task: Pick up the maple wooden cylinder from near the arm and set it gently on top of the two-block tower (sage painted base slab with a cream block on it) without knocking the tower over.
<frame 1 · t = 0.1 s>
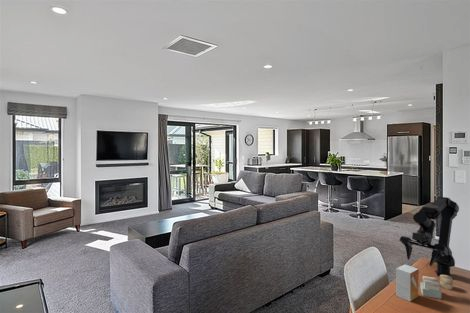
hand: (419, 262, 128), 15 cm above the table, tool tilted 30°, fingers open, 9 cm apart
maple cylinder: (446, 287, 133), on the table
cream top block: (430, 286, 128), point 3 cm above the table
sage base block: (430, 294, 128), on the table
small box: (407, 296, 126), on the table
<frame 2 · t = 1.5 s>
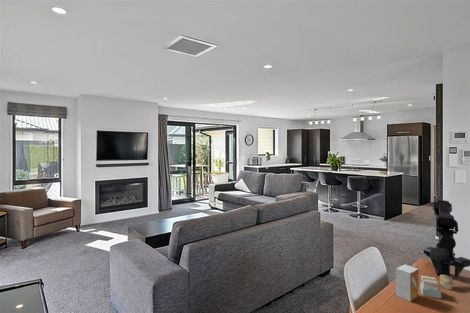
hand: (445, 273, 133), 7 cm above the table, tool pointing down, fingers open, 9 cm apart
cream top block: (429, 286, 128), point 3 cm above the table, touching sage base block
sage base block: (430, 294, 128), on the table, touching cream top block
everything else where it was.
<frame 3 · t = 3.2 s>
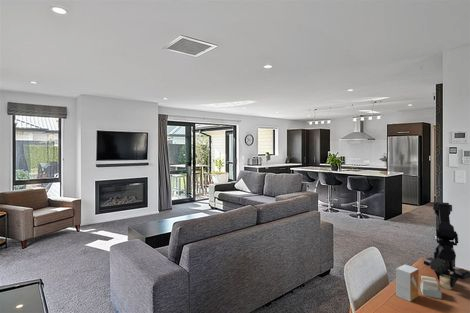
hand: (446, 284, 133), 1 cm above the table, tool pointing down, fingers closed on maple cylinder, 5 cm apart
maple cylinder: (446, 287, 133), on the table, touching gripper
everything else where it was.
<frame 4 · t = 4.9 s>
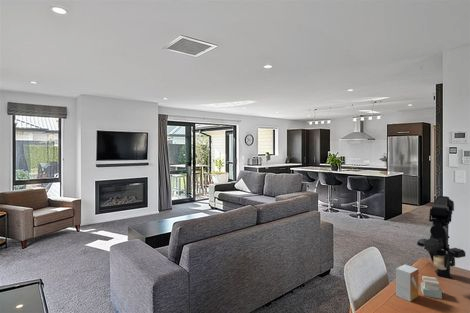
hand: (439, 265, 130), 12 cm above the table, tool pointing down, fingers closed on maple cylinder, 5 cm apart
maple cylinder: (439, 267, 130), point 11 cm above the table, touching gripper
everything else where it was.
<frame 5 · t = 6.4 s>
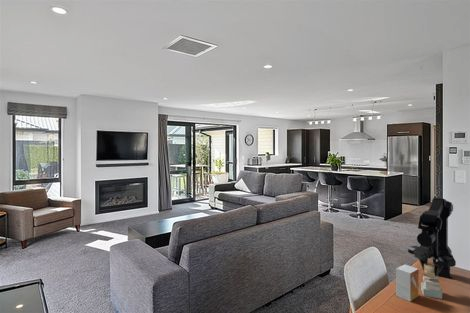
hand: (430, 273, 128), 9 cm above the table, tool pointing down, fingers closed on maple cylinder, 5 cm apart
maple cylinder: (430, 275, 128), point 8 cm above the table, touching gripper
cream top block: (431, 286, 128), point 3 cm above the table
sage base block: (431, 294, 128), on the table
everything else where it was.
when the fingers open (9 cm above the table, at t = 6.5 s): maple cylinder drops 2 cm, resting on cream top block.
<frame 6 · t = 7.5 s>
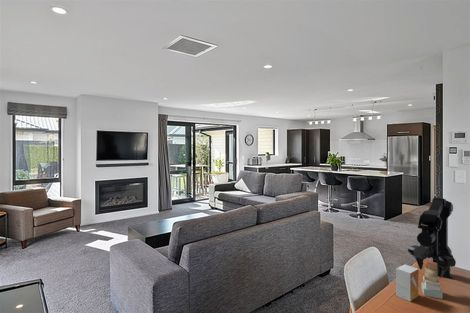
hand: (430, 273, 128), 10 cm above the table, tool pointing down, fingers open, 9 cm apart
maple cylinder: (431, 279, 128), point 7 cm above the table, touching cream top block
cream top block: (431, 286, 128), point 3 cm above the table, touching maple cylinder, sage base block
sage base block: (431, 294, 128), on the table, touching cream top block
everything else where it was.
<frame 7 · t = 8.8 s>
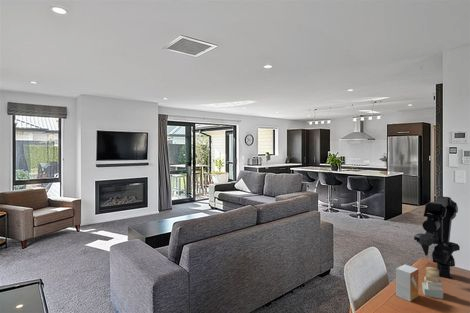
hand: (435, 258, 136), 13 cm above the table, tool pointing down, fingers open, 9 cm apart
cream top block: (433, 287, 128), point 3 cm above the table, touching maple cylinder
sage base block: (432, 294, 128), on the table
everything else where it was.
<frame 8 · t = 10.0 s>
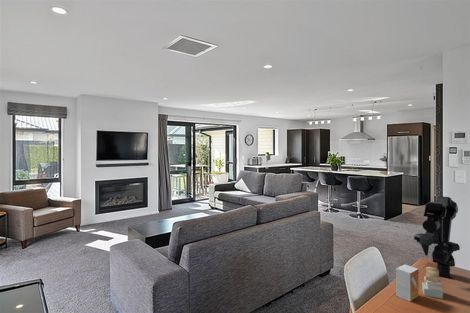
hand: (435, 258, 136), 13 cm above the table, tool pointing down, fingers open, 9 cm apart
cream top block: (432, 286, 128), point 3 cm above the table, touching maple cylinder, sage base block
sage base block: (432, 294, 128), on the table, touching cream top block
everything else where it was.
at the end: maple cylinder 0.3 cm off-centre on the cream top block, point 3.5 cm above the cream top block's base; cream top block 0.2 cm off-centre on the sage base block, point 3.5 cm above the sage base block's base; sage base block moved 0.8 cm from its start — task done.
